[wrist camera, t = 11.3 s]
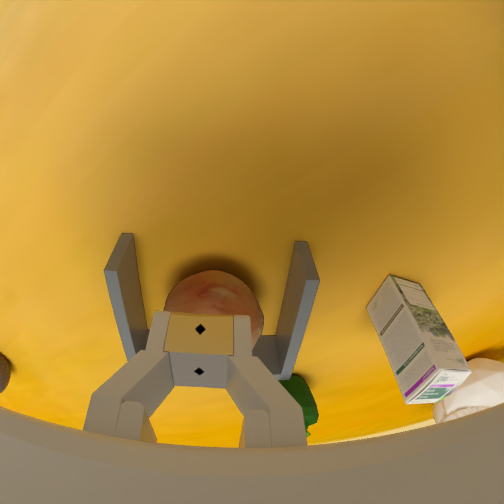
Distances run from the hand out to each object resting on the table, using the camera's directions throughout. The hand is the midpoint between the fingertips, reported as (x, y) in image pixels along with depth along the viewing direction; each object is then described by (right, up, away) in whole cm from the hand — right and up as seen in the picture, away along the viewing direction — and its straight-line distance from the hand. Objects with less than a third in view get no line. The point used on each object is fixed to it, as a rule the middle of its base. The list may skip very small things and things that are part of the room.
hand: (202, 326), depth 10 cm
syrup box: (+19, -3, +27) cm, 34 cm away
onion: (-3, -2, +25) cm, 25 cm away
